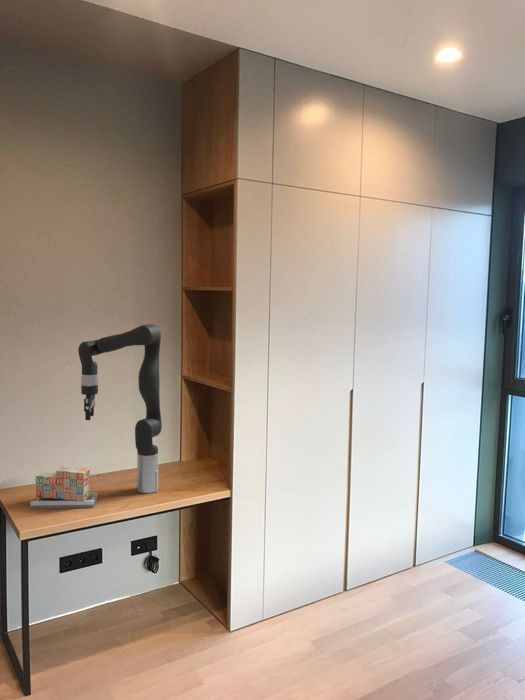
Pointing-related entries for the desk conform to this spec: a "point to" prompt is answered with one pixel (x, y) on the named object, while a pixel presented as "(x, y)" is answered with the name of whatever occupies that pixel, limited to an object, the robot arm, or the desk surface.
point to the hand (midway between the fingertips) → (89, 417)
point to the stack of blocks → (64, 484)
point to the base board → (63, 502)
